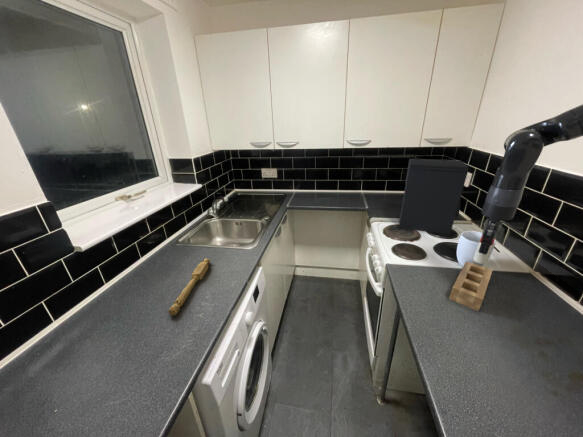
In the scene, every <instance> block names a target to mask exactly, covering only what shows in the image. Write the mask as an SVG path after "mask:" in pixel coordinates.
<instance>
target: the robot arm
mask: <svg viewBox="0 0 583 437" xmlns="http://www.w3.org/2000/svg"><path fill="white" fill-rule="evenodd" d="M582 137H583V103H581V104H580V105H577V106H575V107H573V108H570V109H569V110H565V111H564V112H561V113H560V114H557V115H555V116H553V117H550V118H547V119H545V120H542V121H539V122H536V123H533V124H530V125H527V126H525V127H523V128H520V129H518V130H516V131H514V132H512V133H510V134H509V135H508V136H507V137H506V138H505V140H504V142H503V148H504V155H503V158H502V160H501V162H500V166H499V167H498V168H497V170H496V171H495V173H494V177H493V180H492V181H491V185H490V186H489V189H488V191H487V193H486V196H485V200H484V203H483V206H482V209H481V215H483V216H484V217H487V218H486V219H485V222H484V224H483V230H482V232H481V233H482V235H483V238H482V240H481V246H480V248H479V251H478V252H479V253H482V254H487V253H488V250H489V247H490V245H492V241H493V239H494V238H495V239H496V238H497V235H498V233H499V231H500V230H501V229H502V226H503V223H504V222H503V221H511V220H513V219H514V217H515V215H516V213H517V210H518V207H519V205H520V202H521V200H522V197H523V193H524V190H525V186H526V184H527V182H528V179H529V177H530V173H531V172H532V170H533V168H534V166H535V165H536V163H537V162H538V160H539V158H540V156H541V154H542V153H543V150H544V148H545V147H547V146H551V145H553V144H557V143H559V142H566V141H567V142H568V141H571V140H576V139H578V138H582ZM485 239H488V240H485ZM489 240H490V241H489Z"/></svg>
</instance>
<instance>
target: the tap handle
mask: <svg viewBox="0 0 583 437" xmlns="http://www.w3.org/2000/svg"><path fill="white" fill-rule="evenodd" d="M210 263H211V260H210V259H209V258H204V259H203V261H200V262H199V263H198V264H197V266H196V267H195V268H194V269H193V271H192V272H191V277H190V281H189V282H188V283H187V285H185V287H184V289H182V291H181V292H180V293H179V295H178V296H177V298H176V299H175V301H173V304H172V305H171V306H170V308H169V309H168V311H167V312H168V314H169V315H170V316H176V315H178V313H179V311H180V310H181V309H180V308H182V307H183V305H184V304H185V302H186V301H187V299H188V297H189V295H190V293H191V292H192V291H193V288H194V287H195V285H196V283H198V281H201V280H202V279H203V278H204V276H205V275H206V273H207V271H208V269H209V264H210Z"/></svg>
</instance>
